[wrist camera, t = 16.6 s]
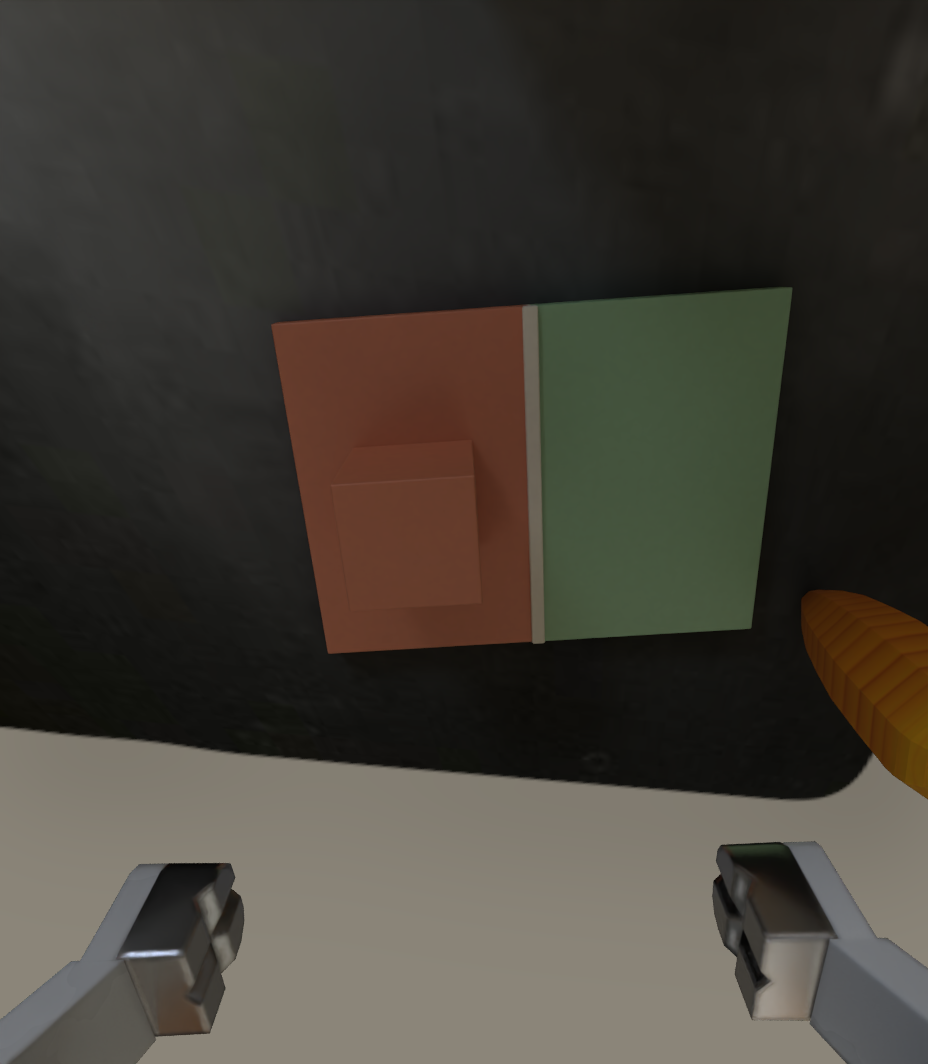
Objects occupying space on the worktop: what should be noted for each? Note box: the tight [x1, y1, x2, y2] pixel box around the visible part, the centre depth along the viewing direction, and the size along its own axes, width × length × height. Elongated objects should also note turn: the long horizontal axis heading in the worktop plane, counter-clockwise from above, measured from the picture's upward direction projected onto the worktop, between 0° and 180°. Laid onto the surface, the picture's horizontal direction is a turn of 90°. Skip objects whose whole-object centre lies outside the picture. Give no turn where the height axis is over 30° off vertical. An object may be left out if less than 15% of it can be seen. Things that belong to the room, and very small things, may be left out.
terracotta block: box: [330, 440, 483, 612], centre depth 25 cm, size 5×5×5 cm
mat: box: [271, 287, 792, 654], centre depth 28 cm, size 20×15×1 cm
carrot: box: [801, 590, 928, 799], centre depth 23 cm, size 5×5×15 cm
